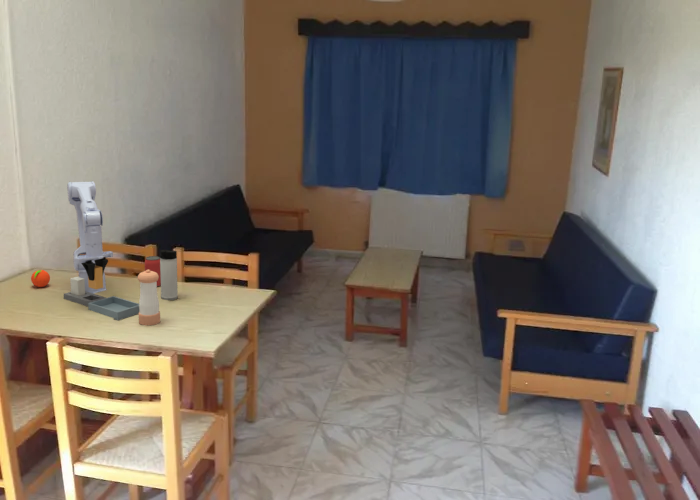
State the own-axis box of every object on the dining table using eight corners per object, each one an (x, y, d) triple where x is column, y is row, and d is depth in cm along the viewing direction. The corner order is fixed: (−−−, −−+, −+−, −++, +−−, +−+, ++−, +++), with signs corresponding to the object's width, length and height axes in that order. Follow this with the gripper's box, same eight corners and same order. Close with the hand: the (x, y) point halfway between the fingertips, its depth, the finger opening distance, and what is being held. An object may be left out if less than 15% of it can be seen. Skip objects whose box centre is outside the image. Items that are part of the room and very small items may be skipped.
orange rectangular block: (95, 285, 235) (94, 264, 233) (103, 287, 233) (102, 266, 231) (88, 287, 233) (87, 266, 231) (96, 289, 230) (95, 268, 229)
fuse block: (80, 295, 245) (79, 289, 244) (106, 303, 237) (106, 297, 236) (63, 299, 239) (63, 293, 239) (90, 308, 231) (90, 302, 231)
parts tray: (113, 303, 238) (113, 295, 237) (142, 312, 230) (142, 304, 229) (88, 310, 229) (88, 303, 228) (117, 320, 221) (117, 312, 220)
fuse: (78, 296, 242) (77, 276, 240) (85, 298, 240) (84, 278, 238) (71, 298, 240) (70, 278, 238) (78, 300, 238) (77, 280, 236)
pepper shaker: (148, 327, 216) (146, 273, 212) (134, 322, 220) (132, 270, 215) (164, 321, 222) (163, 269, 218) (150, 316, 226) (149, 265, 221)
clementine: (44, 290, 249) (43, 273, 247) (26, 289, 249) (25, 272, 247) (53, 284, 257) (52, 267, 255) (36, 283, 257) (35, 267, 255)
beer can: (146, 288, 258) (145, 260, 255) (143, 283, 263) (143, 256, 261) (163, 286, 261) (162, 259, 258) (159, 282, 266) (159, 255, 264)
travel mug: (157, 299, 245) (155, 250, 240) (168, 295, 251) (166, 246, 246) (170, 302, 242) (169, 252, 238) (180, 297, 248) (180, 248, 244)
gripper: (83, 248, 221) (85, 285, 224) (117, 241, 233) (119, 276, 236) (70, 245, 224) (73, 281, 228) (105, 238, 236) (107, 273, 240)
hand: (95, 279), depth 232 cm, fingers closed on orange rectangular block, 3 cm apart
